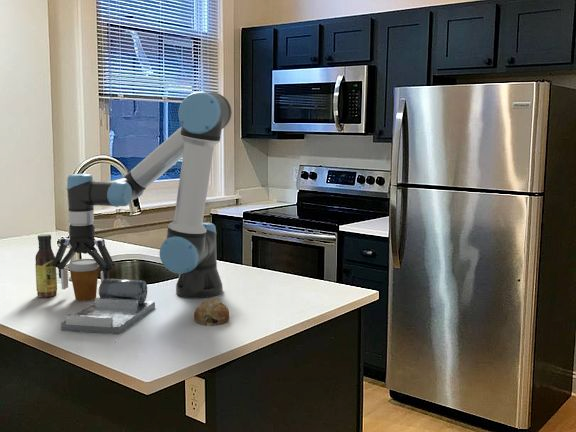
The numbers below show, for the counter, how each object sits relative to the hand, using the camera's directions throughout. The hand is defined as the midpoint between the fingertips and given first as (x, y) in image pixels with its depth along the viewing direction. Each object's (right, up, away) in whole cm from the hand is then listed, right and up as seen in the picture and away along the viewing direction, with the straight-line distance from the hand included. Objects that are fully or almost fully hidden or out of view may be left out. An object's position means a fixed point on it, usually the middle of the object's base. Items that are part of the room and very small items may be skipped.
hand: (84, 289), depth 206 cm
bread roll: (+43, -7, -21) cm, 48 cm away
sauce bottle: (-13, -3, +4) cm, 14 cm away
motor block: (+13, -6, -19) cm, 24 cm away
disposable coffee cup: (0, -3, 0) cm, 3 cm away
